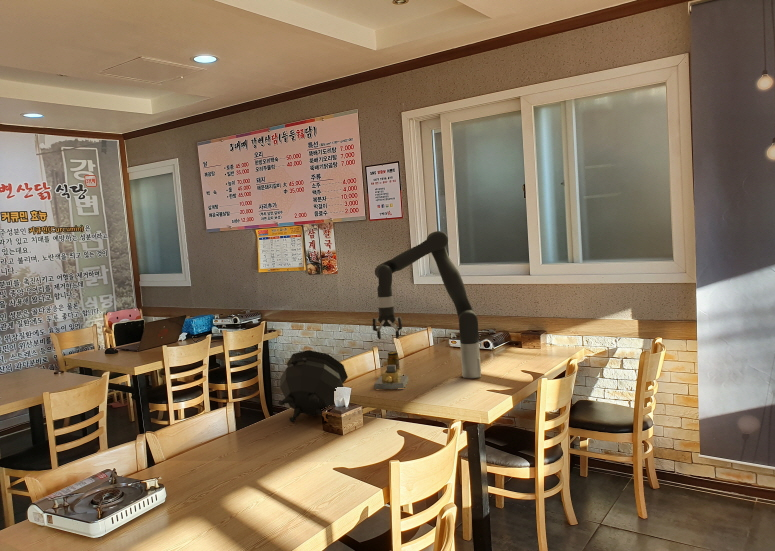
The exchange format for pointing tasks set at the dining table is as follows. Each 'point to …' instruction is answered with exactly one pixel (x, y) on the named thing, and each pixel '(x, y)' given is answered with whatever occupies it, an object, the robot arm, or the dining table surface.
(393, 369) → the gray rectangular block
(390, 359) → the condiment
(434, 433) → the dining table surface
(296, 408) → the cauldron
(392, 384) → the square stand
